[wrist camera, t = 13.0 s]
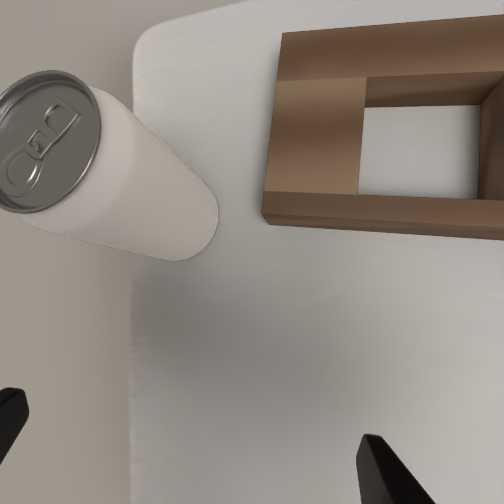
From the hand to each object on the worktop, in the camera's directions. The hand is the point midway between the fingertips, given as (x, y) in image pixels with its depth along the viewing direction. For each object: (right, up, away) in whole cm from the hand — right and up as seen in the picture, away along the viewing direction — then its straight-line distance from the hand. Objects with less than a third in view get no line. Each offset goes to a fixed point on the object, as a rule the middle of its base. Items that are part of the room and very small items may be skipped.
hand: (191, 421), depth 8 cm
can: (-4, +7, +15) cm, 17 cm away
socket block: (+12, +10, +12) cm, 20 cm away
